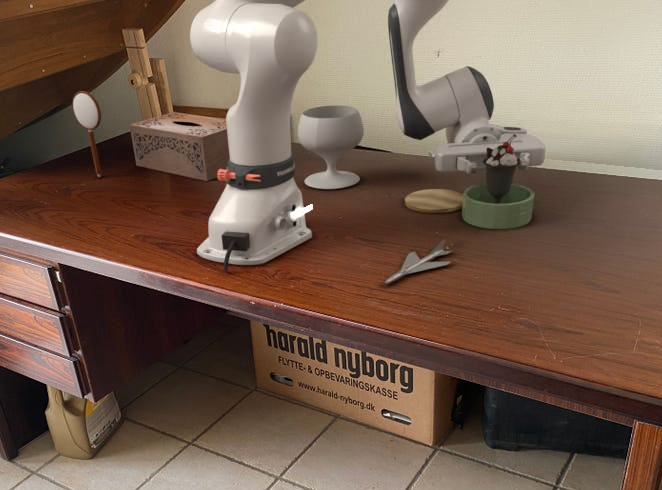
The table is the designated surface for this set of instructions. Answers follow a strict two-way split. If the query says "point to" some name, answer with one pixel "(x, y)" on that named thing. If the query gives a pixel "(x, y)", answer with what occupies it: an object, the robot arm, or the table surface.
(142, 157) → the tissue box cover
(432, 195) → the trivet
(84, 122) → the magnifying glass
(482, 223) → the green shallow round dish
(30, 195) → the table surface
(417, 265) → the toy airplane
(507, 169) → the sundae
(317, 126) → the chalice
